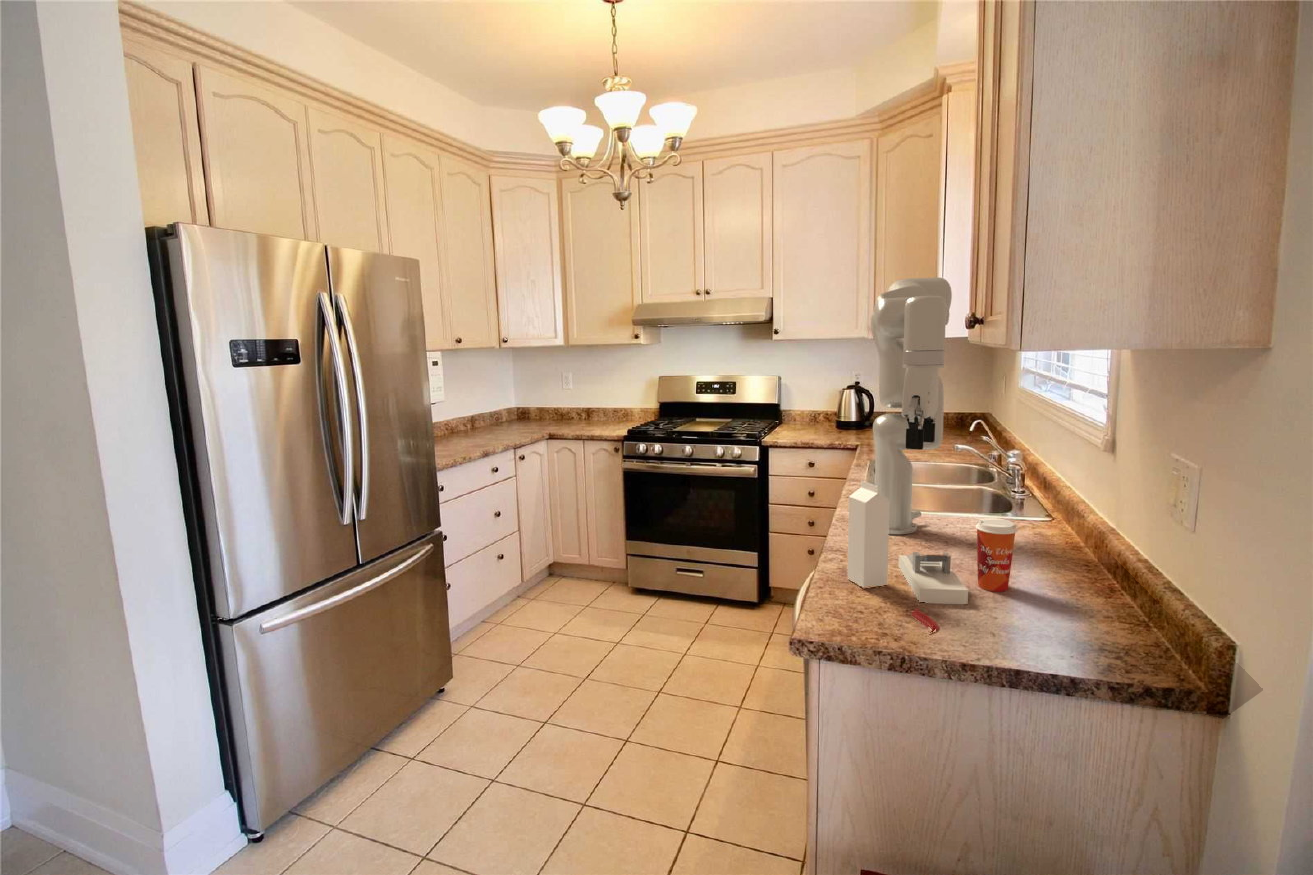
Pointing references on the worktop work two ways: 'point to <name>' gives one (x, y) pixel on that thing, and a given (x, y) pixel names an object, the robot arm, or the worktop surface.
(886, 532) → the milk
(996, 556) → the paper cup
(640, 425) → the worktop surface
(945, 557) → the breaker paddle
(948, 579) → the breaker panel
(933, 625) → the cayenne pepper
